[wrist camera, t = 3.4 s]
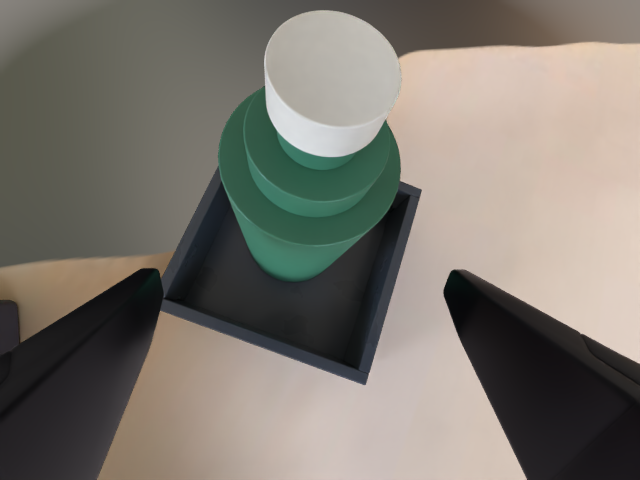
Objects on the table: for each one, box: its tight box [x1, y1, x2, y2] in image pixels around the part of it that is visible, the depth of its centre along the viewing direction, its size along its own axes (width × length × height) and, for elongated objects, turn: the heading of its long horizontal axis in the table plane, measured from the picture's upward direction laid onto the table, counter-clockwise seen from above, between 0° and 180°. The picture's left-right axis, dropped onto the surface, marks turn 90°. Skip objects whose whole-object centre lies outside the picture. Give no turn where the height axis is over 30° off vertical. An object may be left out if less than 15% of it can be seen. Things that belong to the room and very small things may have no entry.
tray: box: [160, 166, 422, 385], centre depth 19 cm, size 12×12×4 cm
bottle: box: [218, 10, 401, 282], centre depth 13 cm, size 6×6×15 cm
